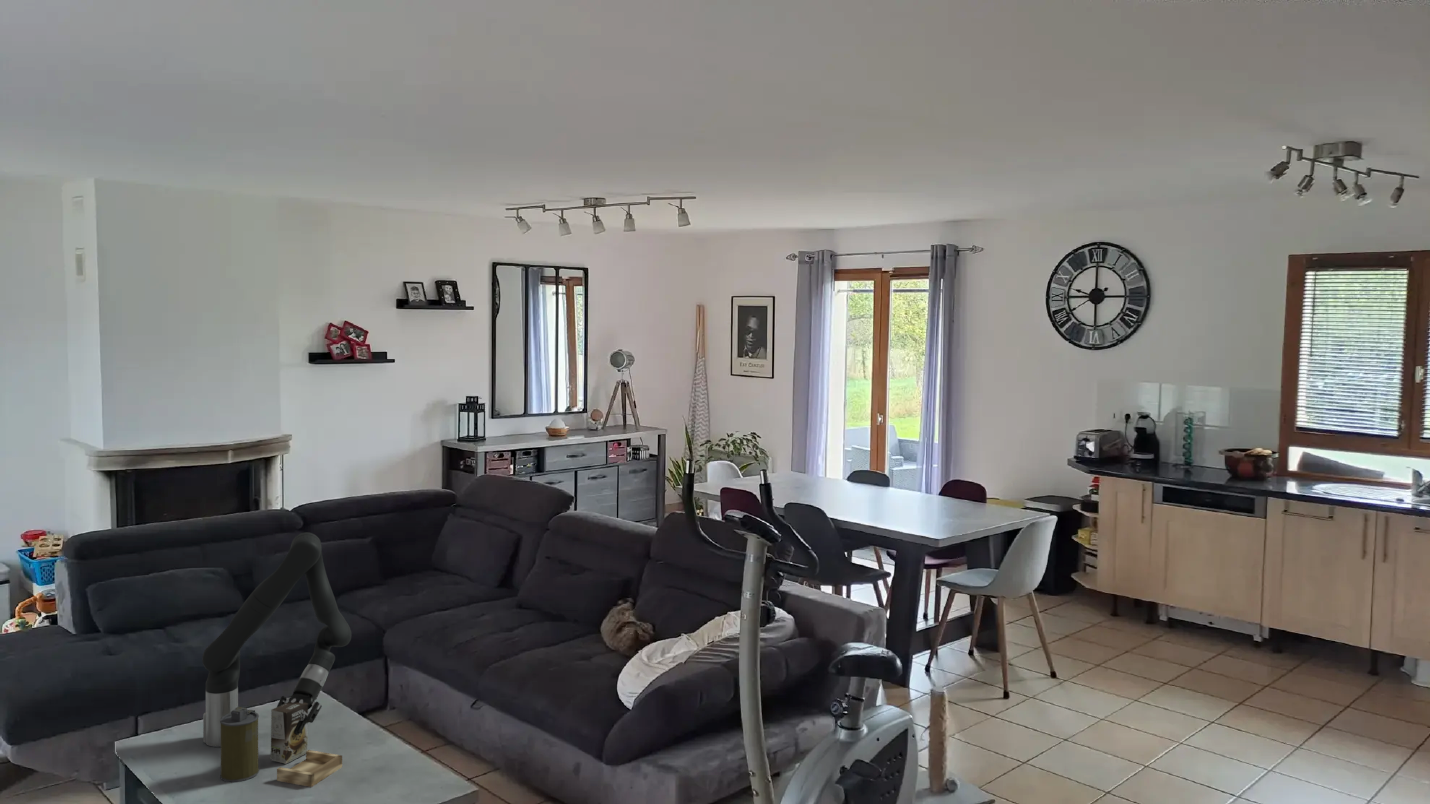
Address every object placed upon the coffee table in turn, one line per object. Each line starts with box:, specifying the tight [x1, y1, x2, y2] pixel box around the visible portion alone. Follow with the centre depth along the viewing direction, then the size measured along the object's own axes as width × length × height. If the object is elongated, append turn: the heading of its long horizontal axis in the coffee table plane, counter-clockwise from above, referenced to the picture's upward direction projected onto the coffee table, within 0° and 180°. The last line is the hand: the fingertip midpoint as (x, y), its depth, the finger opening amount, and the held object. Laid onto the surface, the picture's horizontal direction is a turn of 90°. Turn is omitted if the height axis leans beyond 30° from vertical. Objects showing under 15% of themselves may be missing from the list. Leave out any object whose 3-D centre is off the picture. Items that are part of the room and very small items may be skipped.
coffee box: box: [270, 701, 309, 765], centre depth 308 cm, size 9×6×16 cm
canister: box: [219, 706, 260, 783], centre depth 296 cm, size 11×10×20 cm
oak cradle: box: [276, 749, 343, 788], centre depth 298 cm, size 12×14×4 cm
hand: (286, 732), depth 306 cm, fingers closed on coffee box, 6 cm apart
